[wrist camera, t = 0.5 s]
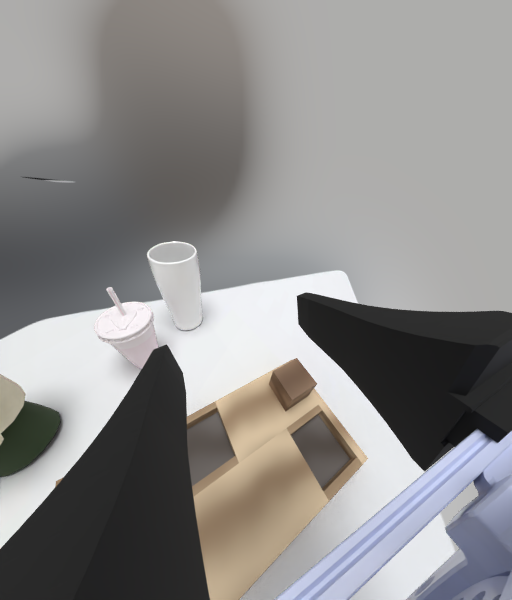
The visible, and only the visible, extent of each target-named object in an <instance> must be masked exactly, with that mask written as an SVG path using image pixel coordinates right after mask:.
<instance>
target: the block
mask: <svg viewBox="0 0 512 600" xmlns="http://www.w3.org/2000/svg"><path fill="white" fill-rule="evenodd" d="M316 385H317V383H316V382H315V380H314V379H313V378H312V377H311V375H310V374H309V373H308V372H307V370H306V369H305V368H304V367H303V365H302V364H301V363H300V362H299V360H298V359H297V358H296V359H294V360H292V361H290V362H288V363H287V364H285V365H283V366H281V367H279V368H277V369H276V370H274V371H273V372H272V376H271V379H270V382H269V386H270V387H271V389H272V390H273V392H274V394H275V395H276V397H277V399H278V400H279V402H280V403H281V405H282V407H283V408H284V410H285V412H286V411H287V410H289V409H290V408H292V407H293V406H295V405H296V404H297V403H299V402H300V401H302V400H303V399H305V398H306V397H308V396H309V394H310V393H311V391H312V390H313V389H314V387H315V386H316Z"/></svg>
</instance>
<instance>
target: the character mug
mask: <svg viewBox="0 0 512 600" xmlns="http://www.w3.org/2000/svg"><path fill="white" fill-rule="evenodd" d="M24 400H25V392H24V391H23V389H22V388H21V387H20V386H19V385H18V384H17V383H15V382H13V381H12V380H10V379H8V378H6V377H4V376H2V375H1V374H0V477H2V476H8V475H10V474H12V473H14V472H16V471H18V470H20V469H22V468H24V467H26V466H27V465H28V464H30V463H31V462H32V461H33V460H34V459H35V458H36V457H37V456H38V455H39V454H40V453H41V452H42V451H43V450H44V449H45V447H46V446H47V445H48V443H49V442H50V441H51V440H52V438H53V437H54V436H55V434H56V431H57V429H58V426H59V424H60V417H59V413H58V412H57V411H55V410H53V409H51V408H48V407H45V406H42V405H39V404H35V403H31V402H27V401H24Z"/></svg>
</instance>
